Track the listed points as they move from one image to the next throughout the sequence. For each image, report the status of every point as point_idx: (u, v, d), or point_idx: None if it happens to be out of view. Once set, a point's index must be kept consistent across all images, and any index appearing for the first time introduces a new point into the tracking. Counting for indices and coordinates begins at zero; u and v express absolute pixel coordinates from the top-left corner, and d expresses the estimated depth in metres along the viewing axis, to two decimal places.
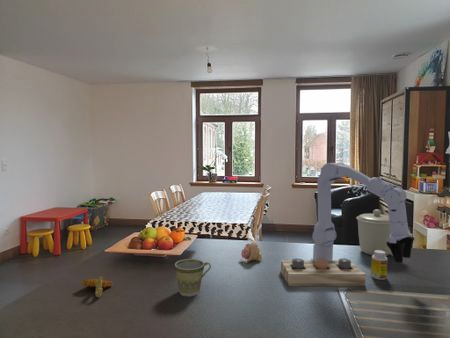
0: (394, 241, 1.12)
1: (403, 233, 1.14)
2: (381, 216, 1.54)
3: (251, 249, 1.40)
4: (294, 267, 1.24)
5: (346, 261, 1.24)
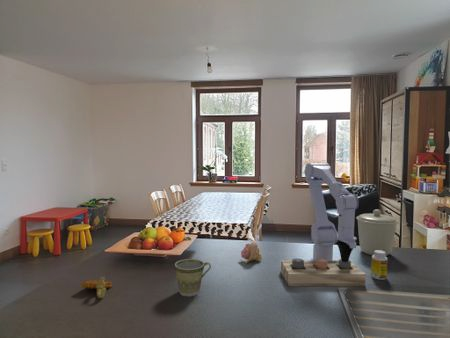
0: (355, 246, 1.18)
1: (353, 237, 1.23)
2: (381, 216, 1.54)
3: (251, 249, 1.40)
4: (294, 267, 1.24)
5: (346, 262, 1.24)
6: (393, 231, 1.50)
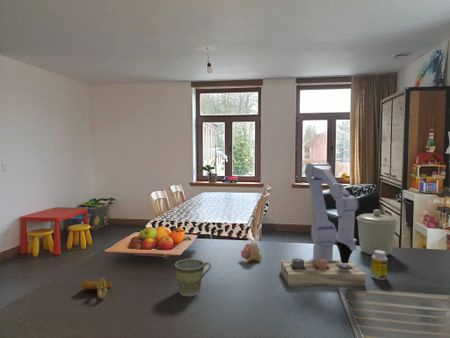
0: (355, 248, 1.18)
1: (353, 239, 1.23)
2: (381, 216, 1.54)
3: (251, 249, 1.40)
4: (294, 267, 1.24)
5: (346, 267, 1.24)
6: (393, 231, 1.50)
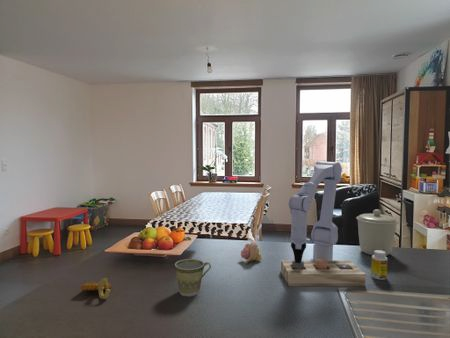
0: (300, 247, 1.17)
1: (304, 238, 1.22)
2: (381, 216, 1.54)
3: (251, 249, 1.40)
4: None
5: (346, 267, 1.24)
6: (393, 231, 1.50)
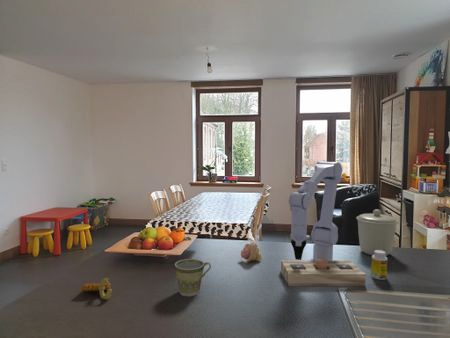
0: (300, 244, 1.17)
1: (304, 235, 1.22)
2: (381, 216, 1.54)
3: (251, 249, 1.40)
4: None
5: (346, 267, 1.24)
6: (393, 231, 1.50)
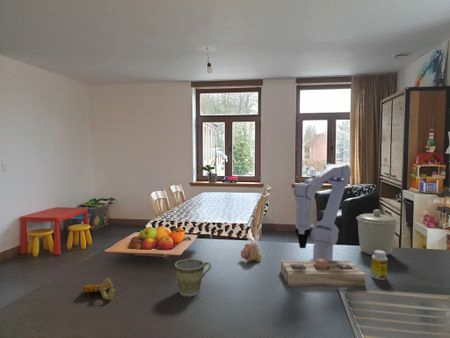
0: (303, 232, 1.22)
1: (308, 224, 1.27)
2: (381, 216, 1.54)
3: (250, 249, 1.40)
4: None
5: (346, 267, 1.24)
6: (393, 231, 1.50)
